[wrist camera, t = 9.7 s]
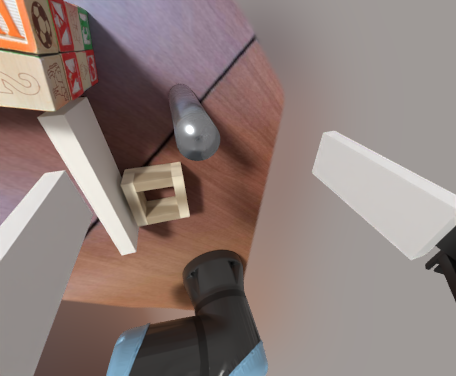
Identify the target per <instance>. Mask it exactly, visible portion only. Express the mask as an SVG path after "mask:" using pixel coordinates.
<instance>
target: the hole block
mask: <svg viewBox="0 0 456 376" xmlns="http://www.w3.org/2000/svg"><path fill="white" fill-rule="evenodd" d="M171 186H174V190H175V194H176V196H174V197H169V198H163V199H157V200H151V201H147V200H146V197H145V194H144V191H146V190H152V189H159V188H165V187H171ZM121 187H122V190H123V192H124V194H125V197H126V199H127V202H128V204H129V206H130V209H131V211H132V213H133V216H134V218H135V221H136V223H137V225H138V227H139V226H144V225H149V224H154V223H159V222H164V221H169V220H174V219H179V218H184V217H189V216H190V214H189V208H188V203H187V197H186V191H185V185H184V179H183V174H182V168H181V162H176V163H168V164H161V165H154V166H146V167H139V168H132V169H125V170H124V174H123V178H122V182H121Z"/></svg>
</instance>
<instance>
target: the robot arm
mask: <svg viewBox="0 0 456 376" xmlns="http://www.w3.org/2000/svg"><path fill="white" fill-rule="evenodd" d="M312 173H313V174H314V175H315V176H316V177H317V178H318V179H319V180H321V181H322V182H323V183H324V184H325V185H326V186H327V187H329V188H330V189H331V190H332V191H333V192H334V193H335V194H336V195H338V196H339V197H340V198H341V199H342V200H343V201H344V202H346V203H347V204H348V205H349V206H350V207H351V208H352V209H353V210H355V211H356V212H357V213H358V214H359V215H360V216H361V217H363V218H364V219H365V220H366V221H367V222H369V224H370V225H372V226H373V227H374V228H375V229H376V230H377V231H378V232H380V233H381V234H382V235H383V236H384V237H385V238H386V239H388V240H389V241H390V242H391V243H392V244H393V245H394V246H395V247H397V248H398V249H399V250H400V251H401V252H402V253H403V254H405V255H406V256H407V257H408V258H409V259H410V260H412V259H415V258H418V257H421V256H424V255H426V254H427V253H428V252H429V251H430V250H431V249H432V248H433V247H434V246H437V247H438V248H439V249H441V250H440V251H439V252H438V253H437V254H436V255H435V256H434V257H433V258H431V259H430V260H429V261H428V262H427V263H426V265H425V266H426V269H428V270H429V269H431V268H432V267H433V266H434V265H435V264H439V265H438V266H437V267H436V268H435V269H434V271H435V272H437V273H441V274H444V275H445V277H446V280H447V282H448V285H449V287H450V289H451V292H452V294H453V296H454V299H455V301H456V195H455V194H453V193H451V192H449V191H448V190H446V189H444V188H442V187H440V186H438V185H436V184H434V183H433V182H431V181H429V180H427V179H425V178H423V177H421V176H419V175H417V174H415V173H414V172H412V171H410V170H408V169H406V168H404V167H402V166H400V165H398V164H396V163H394V162H393V161H391V160H389V159H387V158H385V157H383V156H381V155H379V154H378V153H376V152H374V151H372V150H370V149H368V148H366V147H364V146H362V145H361V144H359V143H357V142H355V141H353V140H351V139H349V138H347V137H345V136H344V135H342V134H340V133H338V132H336V131H330V132H324V133H323V136H322V139H321V143H320V146H319V150H318V153H317V156H316V160H315V163H314V167H313V170H312ZM92 216H93V214H92V212H91V210H90V209H89V207H88V206H87V204H86V203H85V201H84V199H83V198H82V196H81V195H80V193H79V192H78V190H77V188H76V187H75V185H74V184H73V182H72V181H71V179H70V177H69V176H68V174H67V173H66V171H65V170H63V171H57V172H50V173H45V174H44V175H43V176H42V177H41V178H40V180H39V181H38V182H37V183H36V184H35V185H34V187H33V188H32V189H31V190H30V191H29V193H28V194H27V195H26V196H25V197H24V198H23V200H22V201H21V202H20V203H19V204H18V206H17V207H16V208H15V209H14V210H13V212H12V213H11V214H10V215H9V216H8V217H7V219H6V220H5V221H4V222H3V223H2V225H1V226H0V376H33V375H34V372H35V369H36V367H37V364H38V361H39V359H40V356H41V353H42V350H43V348H44V345H45V342H46V340H47V337H48V334H49V331H50V329H51V326H52V324H53V321H54V318H55V316H56V313H57V310H58V307H59V305H60V302H61V300H62V297H63V294H64V291H65V289H66V286H67V283H68V281H69V278H70V275H71V273H72V270H73V267H74V265H75V262H76V259H77V257H78V254H79V251H80V248H81V246H82V243H83V240H84V238H85V235H86V232H87V230H88V227H89V224H90V222H91V219H92ZM183 284H184V287H185V289H186V291H187V293H188V295H189V297H190V299H191V301H192V304H193V306H194V310H195V316H192V317H186V318H181V319H176V320H171V321H166V322H160V323H156V324H150V323H148V324H146V325H144V326H140V327H136V328H132V329H128V330H126V331H125V332H123V333H122V334H121V335H120V337H119V338H118V340H117V342H116V345H115V347H114V351H113V354H112V357H111V360H110V364H109V367H108V371H107V375H106V376H265V375H266V374H267V370H268V363H267V359H266V355H265V351H264V348H263V342H262V340H261V339H260V336H259V333H258V330H257V327H256V324H255V322H254V319H253V316H252V313H251V310H250V307H249V304H248V301H247V299H246V296H245V293H244V282H243V265H242V262H241V260H240V257H239V256H238V255H237V254H236V253H234V252H231V251H226V250H218V251H212V252H208V253H205V254H203V255H200V256H198V257H197V258H195V259H193V260H192V261H191V262H190V263H188V265H187V266H186V267H185V268H184V271H183Z"/></svg>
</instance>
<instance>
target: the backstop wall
mask: <svg viewBox="0 0 456 376" xmlns="http://www.w3.org/2000/svg"><path fill="white" fill-rule="evenodd" d="M37 118H38V120H39V121H40V123H41V125H42V126H43V128H44V130H45V131H46V133H47V134H48V136H49V138H50V139H51V141H52V143H53V144H54V146H55V147H56V149H57V151H58V152H59V154H60V156H61V157H62V159H63V160H64V162H65V164H66V165H67V167H68V169H69V170H70V172H71V174H72V175H73V177H74V178H75V180H76V182H77V183H78V185H79V187H80V188H81V190H82V191H83V193H84V195H85V196H86V198H87V200H88V201H89V203H90V204H91V206H92V208H93V209H94V211H95V213H96V214H97V216H98V217H99V219H100V221H101V222H102V224H103V226H104V227H105V229H106V230H107V232H108V234H109V235H110V237H111V239H112V240H113V242H114V243H115V245H116V247H117V248H118V250H119V252H120V253H121V255H126V254H130V253H134V252H136V249H137V240H138V230H139V227H138V225H137V223H136V221H135V218H134V216H133V213H132V211H131V209H130V206H129V204H128V202H127V199H126V197H125V194H124V192H123V190H122V187H121V182H122V177H121V175H120V172H119V170H118V168H117V165H116V163H115V161H114V158H113V156H112V154H111V151H110V149H109V147H108V145H107V142H106V140H105V138H104V135H103V133H102V131H101V128H100V126H99V124H98V121H97V119H96V117H95V114H94V112H93V110H92V108H91V105H90V103H89V101H88V98H87V97H79V98H76V99H75V100H70V101H69V102H68V103H67V104H65V105H64V106H62V107H61V108H60V109H58V110H57V111H51V112H50V111H46V112H45V113H43V114H42V115H40V116H38V117H37Z"/></svg>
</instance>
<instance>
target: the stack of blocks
mask: <svg viewBox="0 0 456 376" xmlns="http://www.w3.org/2000/svg"><path fill="white" fill-rule="evenodd" d="M96 83H98V76H97V70H96V63H95V57H94V51H93V48H92V42H91V35H90V28H89V22H88V15H87V11H86V10H84V9H82V8H81V7H79V6H77V5H74V4H70V3H67V2H65V1H63V0H0V106H2V107H12V108H21V109H30V110H40V111H50V112H51V111H57V110H58V109H60V108H61V107H62V106H64V105H65V104H67V103H68V102H69V101H70V100H75V99H76V98H78V97H79V96H80V95H82V94H83V93H84V91H86V90H87V89H88V88H90V87H92V86H93V85H95V84H96Z"/></svg>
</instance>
